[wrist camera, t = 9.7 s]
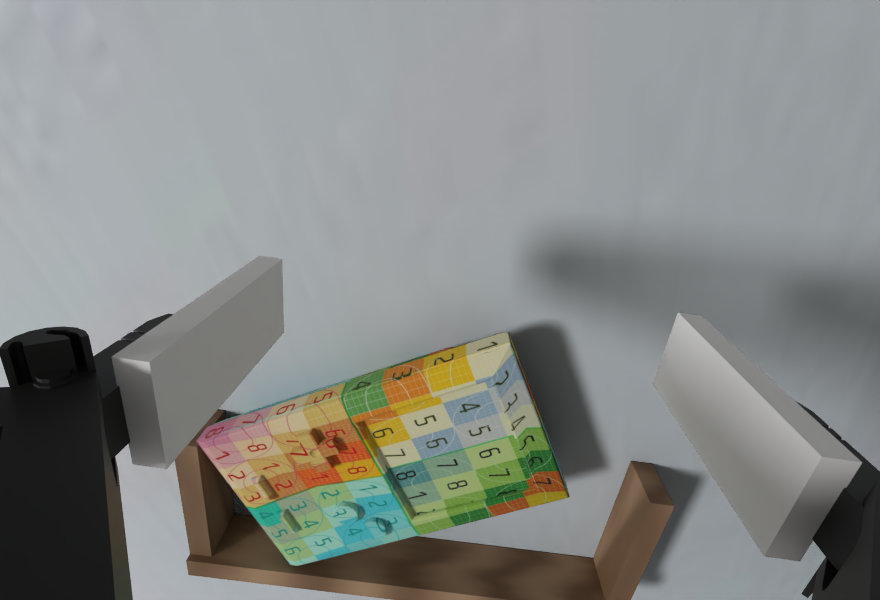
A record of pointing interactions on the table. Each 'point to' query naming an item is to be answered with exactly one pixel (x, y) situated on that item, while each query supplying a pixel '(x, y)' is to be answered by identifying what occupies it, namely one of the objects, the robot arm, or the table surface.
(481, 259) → the table surface
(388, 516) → the puzzle game
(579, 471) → the table surface
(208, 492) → the frame
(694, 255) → the table surface
